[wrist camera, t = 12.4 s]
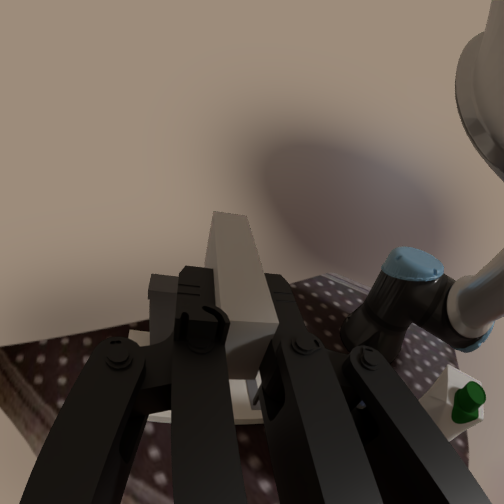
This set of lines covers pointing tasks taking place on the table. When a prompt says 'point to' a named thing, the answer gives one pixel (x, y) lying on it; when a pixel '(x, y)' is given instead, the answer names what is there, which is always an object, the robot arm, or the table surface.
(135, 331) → the switch board
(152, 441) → the table surface
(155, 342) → the switch
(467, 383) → the milk carton
